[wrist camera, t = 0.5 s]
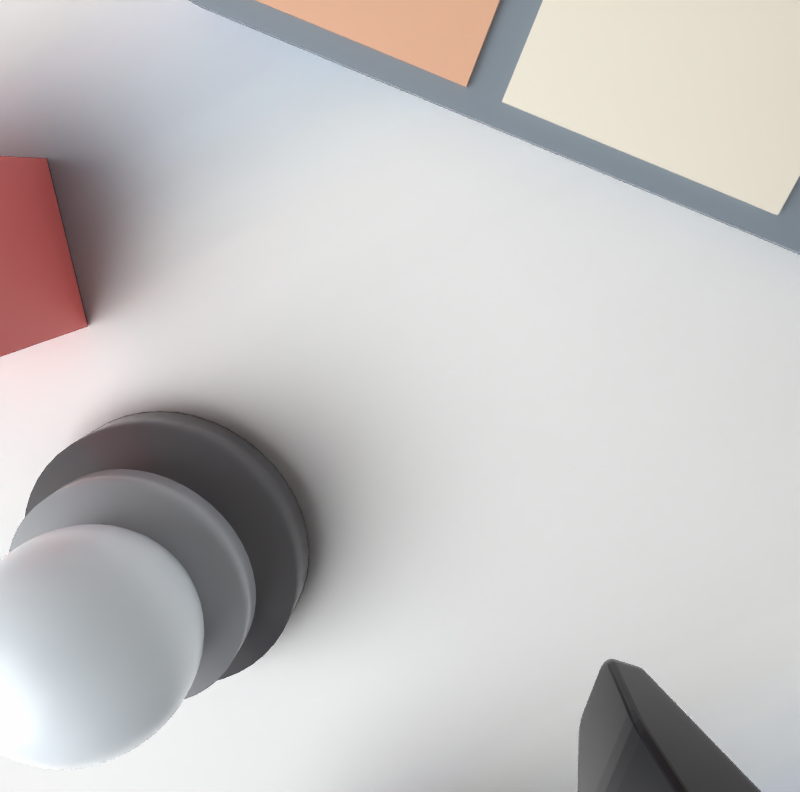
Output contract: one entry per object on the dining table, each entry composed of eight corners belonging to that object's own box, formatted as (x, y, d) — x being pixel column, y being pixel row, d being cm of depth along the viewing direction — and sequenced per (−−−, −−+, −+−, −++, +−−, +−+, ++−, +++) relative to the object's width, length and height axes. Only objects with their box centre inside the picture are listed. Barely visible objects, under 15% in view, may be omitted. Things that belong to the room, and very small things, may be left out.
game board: (1303, 16, 16) (1352, 6, 15) (1055, 360, 19) (1084, 369, 18) (304, -382, 17) (292, -415, 16) (201, 7, 20) (185, -2, 19)
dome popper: (236, 709, 23) (145, 886, 17) (21, 646, 23) (-136, 798, 18) (274, 506, 21) (184, 630, 15) (36, 441, 21) (-139, 538, 15)
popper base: (283, 686, 25) (270, 716, 24) (42, 616, 26) (16, 641, 25) (332, 452, 23) (320, 470, 21) (61, 380, 23) (32, 393, 22)
